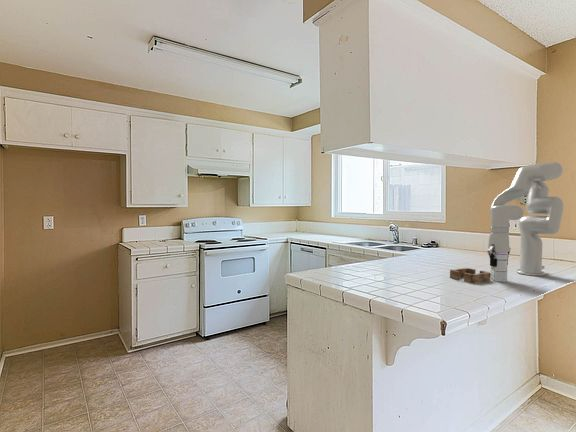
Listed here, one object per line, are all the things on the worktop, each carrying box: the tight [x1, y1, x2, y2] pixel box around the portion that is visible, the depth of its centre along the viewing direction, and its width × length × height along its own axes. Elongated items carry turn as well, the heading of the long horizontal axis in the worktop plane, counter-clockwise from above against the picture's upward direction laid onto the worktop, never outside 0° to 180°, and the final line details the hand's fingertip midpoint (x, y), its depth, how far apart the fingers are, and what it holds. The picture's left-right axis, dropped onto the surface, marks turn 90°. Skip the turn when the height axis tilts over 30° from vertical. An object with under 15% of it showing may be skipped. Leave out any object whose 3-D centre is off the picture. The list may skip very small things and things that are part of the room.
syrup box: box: [490, 252, 508, 283], centre depth 164 cm, size 6×6×14 cm
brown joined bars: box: [449, 267, 491, 284], centre depth 167 cm, size 14×14×4 cm
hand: (498, 265), depth 164 cm, fingers closed on syrup box, 8 cm apart
